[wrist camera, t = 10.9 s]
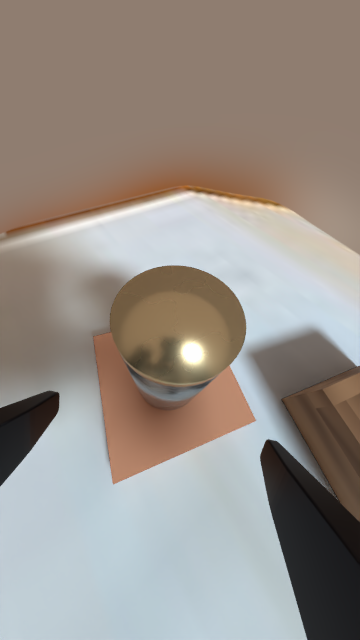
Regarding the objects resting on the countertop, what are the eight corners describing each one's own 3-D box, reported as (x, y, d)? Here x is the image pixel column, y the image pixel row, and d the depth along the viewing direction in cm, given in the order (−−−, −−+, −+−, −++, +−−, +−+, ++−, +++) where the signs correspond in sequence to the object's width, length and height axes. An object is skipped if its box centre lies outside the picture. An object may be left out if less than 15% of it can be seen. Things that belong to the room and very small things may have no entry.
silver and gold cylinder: (158, 425, 13) (156, 419, 5) (126, 367, 14) (87, 294, 7) (211, 385, 14) (273, 332, 7) (177, 337, 16) (193, 252, 8)
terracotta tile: (117, 479, 12) (112, 484, 11) (97, 342, 16) (93, 336, 15) (249, 421, 14) (255, 420, 13) (200, 315, 19) (202, 309, 18)
